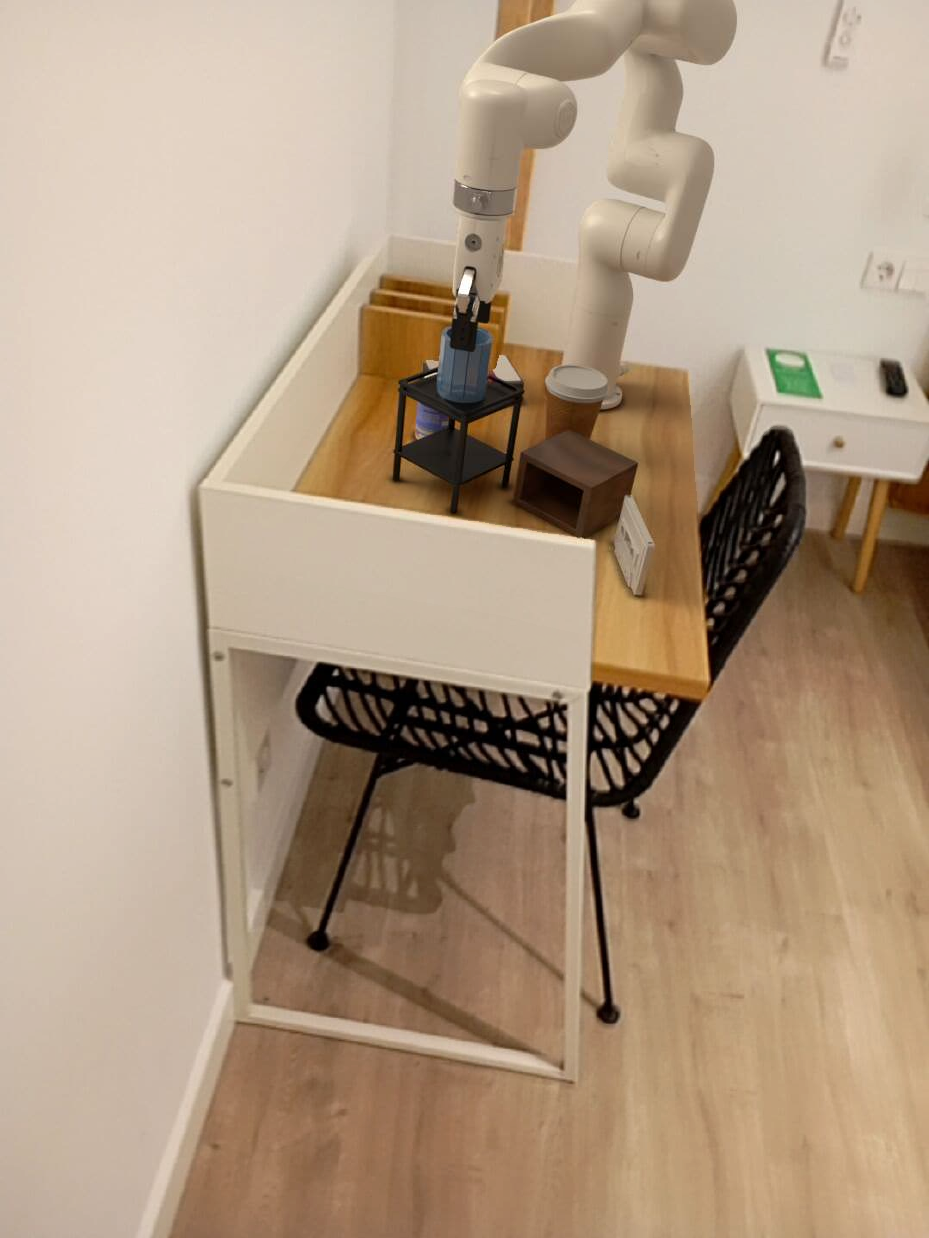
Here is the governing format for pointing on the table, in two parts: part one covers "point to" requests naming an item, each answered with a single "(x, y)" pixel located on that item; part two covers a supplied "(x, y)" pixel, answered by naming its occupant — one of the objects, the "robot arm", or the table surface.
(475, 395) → the blue cup
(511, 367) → the calculator
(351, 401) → the table surface
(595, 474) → the shelf
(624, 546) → the cassette
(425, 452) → the tray
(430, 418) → the pill bottle
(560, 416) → the disposable coffee cup
